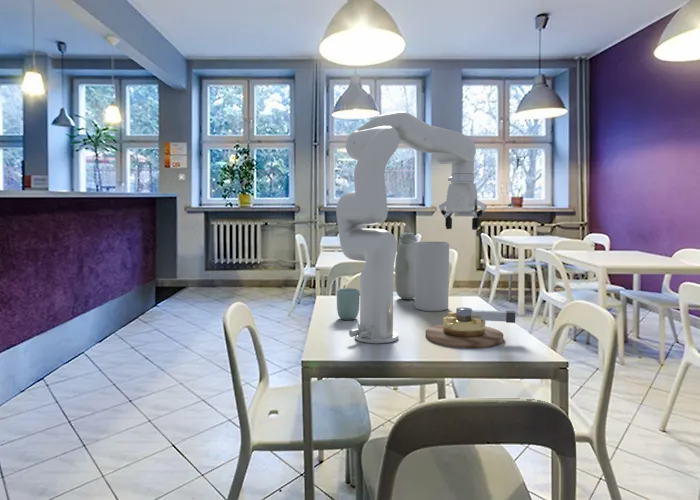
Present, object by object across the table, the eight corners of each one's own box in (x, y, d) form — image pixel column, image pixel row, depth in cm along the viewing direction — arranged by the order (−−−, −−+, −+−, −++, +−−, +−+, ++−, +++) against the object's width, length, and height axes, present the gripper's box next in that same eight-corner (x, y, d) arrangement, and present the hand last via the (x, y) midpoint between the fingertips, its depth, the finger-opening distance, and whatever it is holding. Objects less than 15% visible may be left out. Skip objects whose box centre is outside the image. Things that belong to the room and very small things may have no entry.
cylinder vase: (451, 312, 172) (452, 243, 169) (416, 311, 172) (417, 243, 170) (444, 305, 184) (445, 241, 182) (412, 305, 184) (413, 241, 182)
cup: (339, 316, 166) (339, 287, 165) (361, 316, 164) (361, 288, 163) (334, 321, 158) (334, 291, 157) (357, 322, 156) (357, 292, 156)
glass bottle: (393, 297, 201) (393, 231, 199) (417, 296, 202) (417, 231, 200) (397, 301, 192) (397, 232, 189) (421, 301, 192) (422, 232, 190)
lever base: (479, 353, 122) (479, 347, 121) (410, 337, 137) (410, 332, 137) (516, 336, 137) (516, 331, 137) (451, 324, 153) (451, 319, 152)
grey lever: (441, 335, 133) (442, 312, 132) (443, 325, 144) (443, 304, 144) (516, 339, 128) (517, 315, 127) (512, 328, 139) (512, 307, 139)
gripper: (434, 180, 165) (434, 229, 166) (482, 178, 154) (481, 230, 155) (444, 181, 171) (443, 228, 172) (491, 179, 160) (489, 229, 161)
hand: (461, 229), depth 164 cm, fingers open, 9 cm apart
